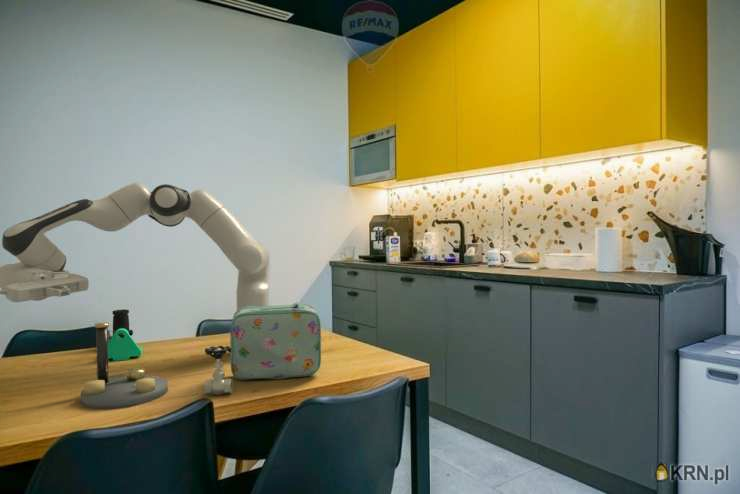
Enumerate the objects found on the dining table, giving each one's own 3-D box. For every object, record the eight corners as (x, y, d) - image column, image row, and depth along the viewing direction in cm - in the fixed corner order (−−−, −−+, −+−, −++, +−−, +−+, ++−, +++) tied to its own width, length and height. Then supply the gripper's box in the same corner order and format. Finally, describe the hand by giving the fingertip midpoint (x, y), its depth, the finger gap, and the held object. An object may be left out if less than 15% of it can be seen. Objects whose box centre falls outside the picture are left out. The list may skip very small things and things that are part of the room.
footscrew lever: (142, 374, 133) (141, 318, 132) (146, 378, 129) (145, 320, 129) (94, 383, 125) (93, 323, 125) (97, 387, 122) (96, 325, 121)
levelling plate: (177, 381, 134) (176, 365, 134) (153, 406, 114) (152, 387, 114) (102, 384, 131) (102, 368, 131) (64, 410, 112) (64, 391, 111)
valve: (209, 390, 125) (208, 345, 125) (234, 390, 126) (233, 345, 126) (202, 399, 119) (201, 351, 119) (229, 398, 119) (228, 351, 119)
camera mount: (142, 353, 168) (142, 324, 167) (140, 358, 160) (140, 328, 160) (104, 357, 163) (103, 327, 163) (100, 362, 156) (100, 331, 156)
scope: (106, 313, 169) (109, 309, 178) (107, 352, 169) (109, 346, 179) (131, 312, 172) (133, 308, 182) (132, 349, 173) (133, 344, 182)
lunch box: (321, 367, 147) (321, 299, 146) (325, 377, 137) (325, 303, 136) (232, 373, 141) (231, 302, 141) (229, 384, 131) (228, 307, 131)
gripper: (-6, 279, 127) (23, 288, 121) (71, 269, 145) (100, 276, 139) (-5, 302, 128) (23, 312, 122) (71, 289, 146) (100, 297, 140)
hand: (65, 292), depth 131 cm, fingers closed
